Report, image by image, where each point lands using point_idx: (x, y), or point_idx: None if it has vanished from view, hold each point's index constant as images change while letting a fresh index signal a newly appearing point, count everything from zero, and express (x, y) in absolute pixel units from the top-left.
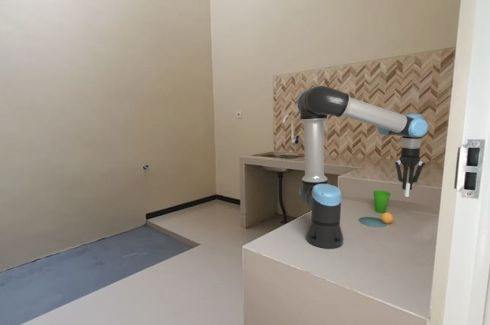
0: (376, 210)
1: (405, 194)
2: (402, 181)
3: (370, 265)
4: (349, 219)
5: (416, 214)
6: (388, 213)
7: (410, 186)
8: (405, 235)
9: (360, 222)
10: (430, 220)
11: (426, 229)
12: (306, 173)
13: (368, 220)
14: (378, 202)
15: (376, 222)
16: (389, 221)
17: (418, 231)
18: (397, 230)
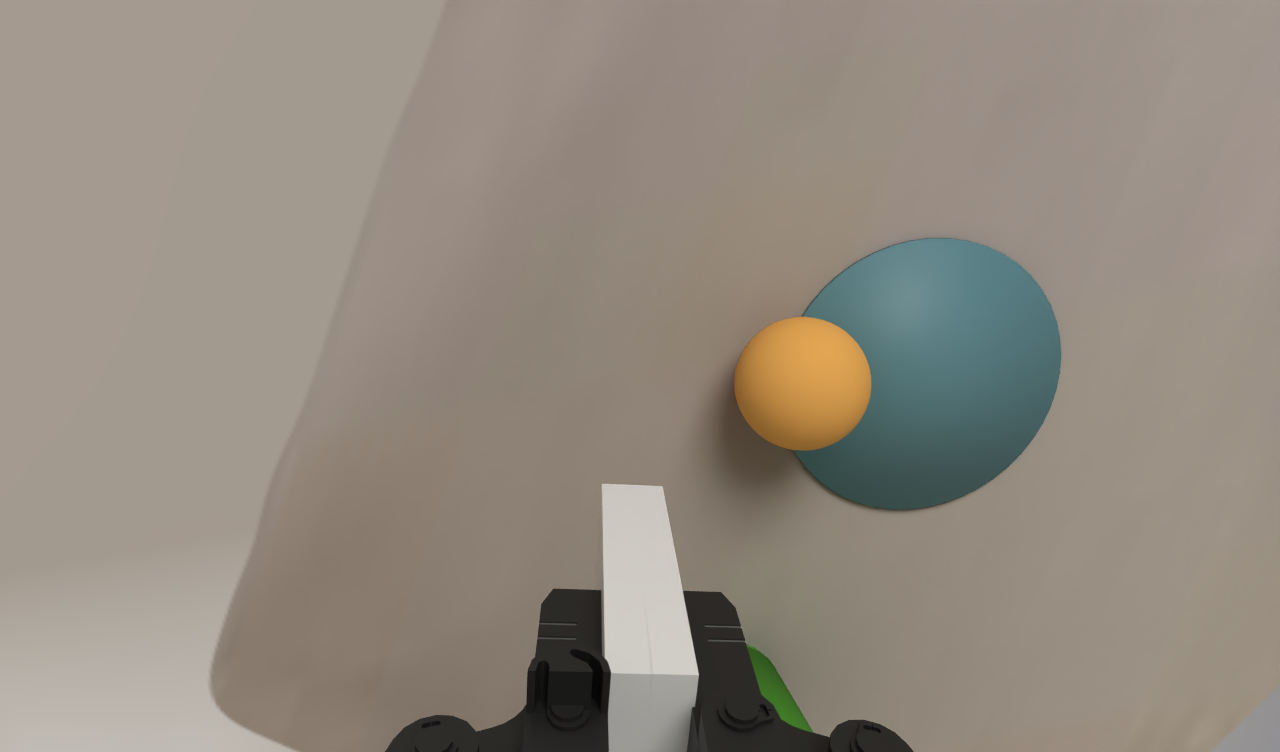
0: (778, 674)
1: (665, 511)
2: (807, 744)
3: None
4: (1136, 408)
5: (374, 677)
6: (817, 386)
7: (573, 642)
8: (713, 26)
9: (1057, 338)
10: (283, 534)
11: (415, 257)
12: None
13: (953, 403)
14: (803, 729)
15: (891, 359)
16: (792, 318)
17: (524, 179)
18: (746, 169)
